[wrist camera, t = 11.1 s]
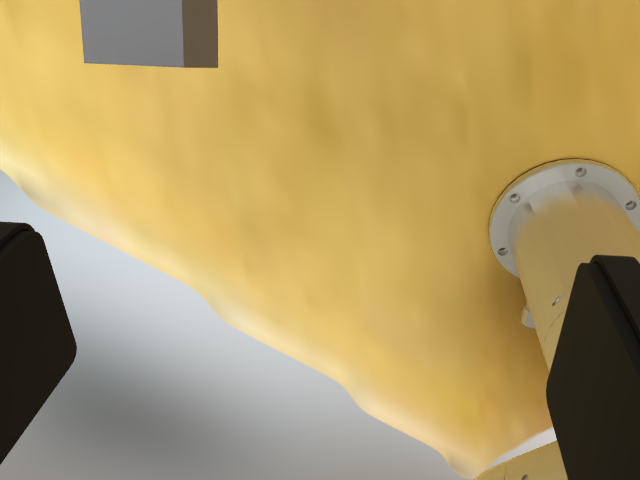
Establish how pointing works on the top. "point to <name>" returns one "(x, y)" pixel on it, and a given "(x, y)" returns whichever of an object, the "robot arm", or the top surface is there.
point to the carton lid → (150, 32)
